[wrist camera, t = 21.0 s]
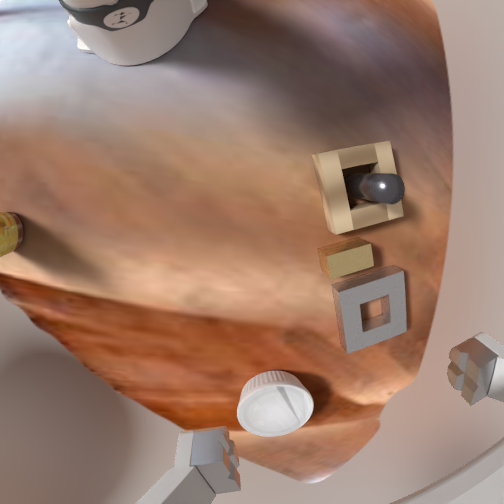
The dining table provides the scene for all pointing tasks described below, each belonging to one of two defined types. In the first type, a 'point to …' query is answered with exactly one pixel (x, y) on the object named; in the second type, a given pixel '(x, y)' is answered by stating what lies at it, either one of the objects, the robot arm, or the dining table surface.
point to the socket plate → (363, 290)
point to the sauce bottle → (10, 232)
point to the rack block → (335, 191)
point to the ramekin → (274, 404)
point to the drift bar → (345, 257)
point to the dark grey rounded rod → (375, 187)
